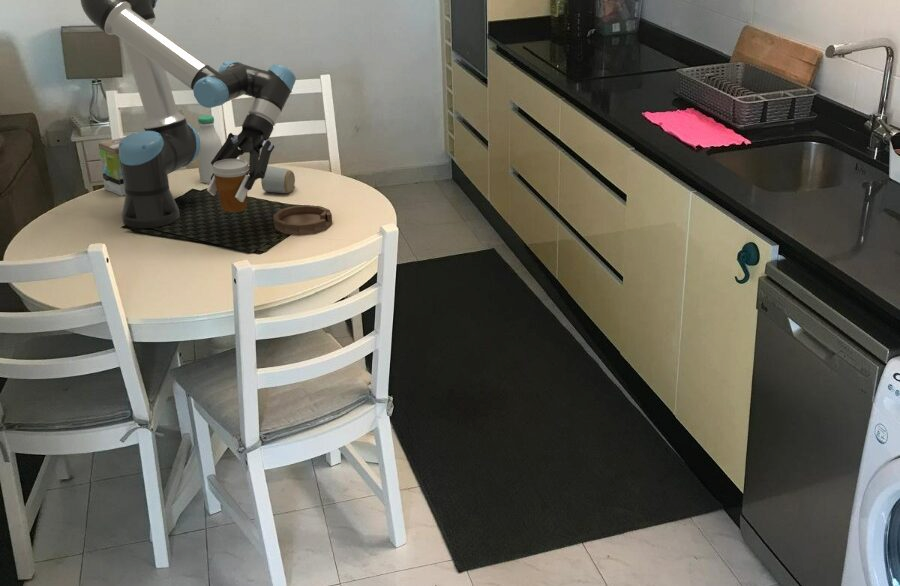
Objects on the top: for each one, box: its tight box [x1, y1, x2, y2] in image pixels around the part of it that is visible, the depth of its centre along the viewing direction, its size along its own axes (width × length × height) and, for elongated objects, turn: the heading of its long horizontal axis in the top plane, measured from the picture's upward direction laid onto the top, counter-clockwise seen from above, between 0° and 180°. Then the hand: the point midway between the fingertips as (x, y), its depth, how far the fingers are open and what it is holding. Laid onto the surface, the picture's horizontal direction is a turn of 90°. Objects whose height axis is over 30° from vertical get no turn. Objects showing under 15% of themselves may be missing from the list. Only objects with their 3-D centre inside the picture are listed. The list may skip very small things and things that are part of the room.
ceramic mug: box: [260, 165, 296, 194], centre depth 287 cm, size 11×8×8 cm
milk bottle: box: [196, 114, 223, 184], centre depth 293 cm, size 8×8×20 cm
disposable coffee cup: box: [212, 158, 249, 213], centre depth 247 cm, size 10×10×12 cm
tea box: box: [98, 136, 126, 197], centre depth 289 cm, size 15×10×15 cm, turn 138°
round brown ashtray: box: [272, 204, 333, 236], centre depth 262 cm, size 15×15×3 cm
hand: (224, 196), depth 245 cm, fingers closed on disposable coffee cup, 9 cm apart
